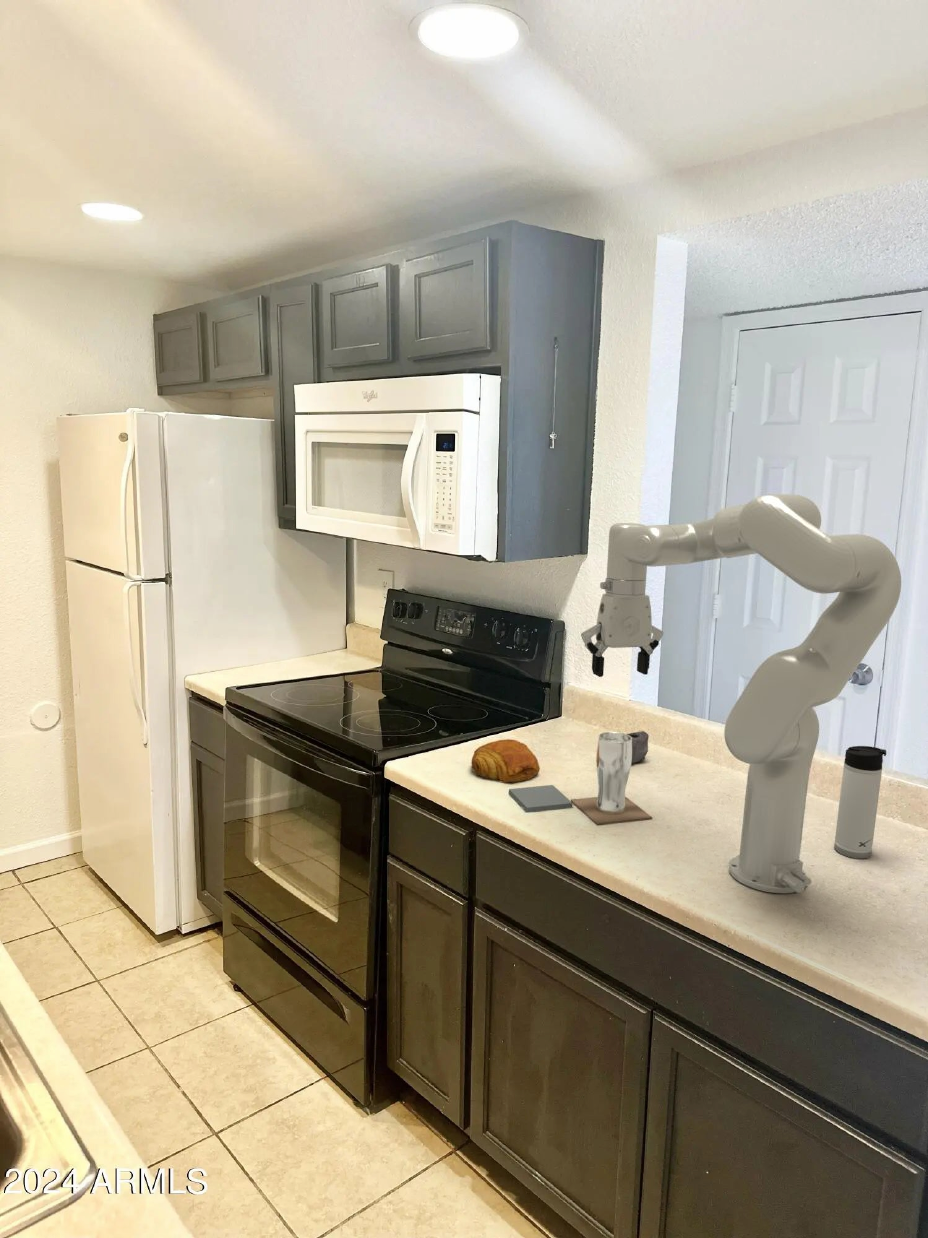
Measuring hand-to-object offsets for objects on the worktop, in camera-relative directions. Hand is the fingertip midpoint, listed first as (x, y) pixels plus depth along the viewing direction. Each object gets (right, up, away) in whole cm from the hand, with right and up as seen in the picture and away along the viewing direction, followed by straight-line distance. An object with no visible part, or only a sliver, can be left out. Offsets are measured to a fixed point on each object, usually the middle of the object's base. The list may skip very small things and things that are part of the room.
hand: (620, 674), depth 164 cm
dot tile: (-1, -28, +5) cm, 28 cm away
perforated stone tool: (+7, -23, +32) cm, 40 cm away
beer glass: (-1, -28, +5) cm, 28 cm away
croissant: (-21, -24, +24) cm, 40 cm away
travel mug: (+41, -32, -10) cm, 53 cm away
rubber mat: (-15, -27, +9) cm, 32 cm away
